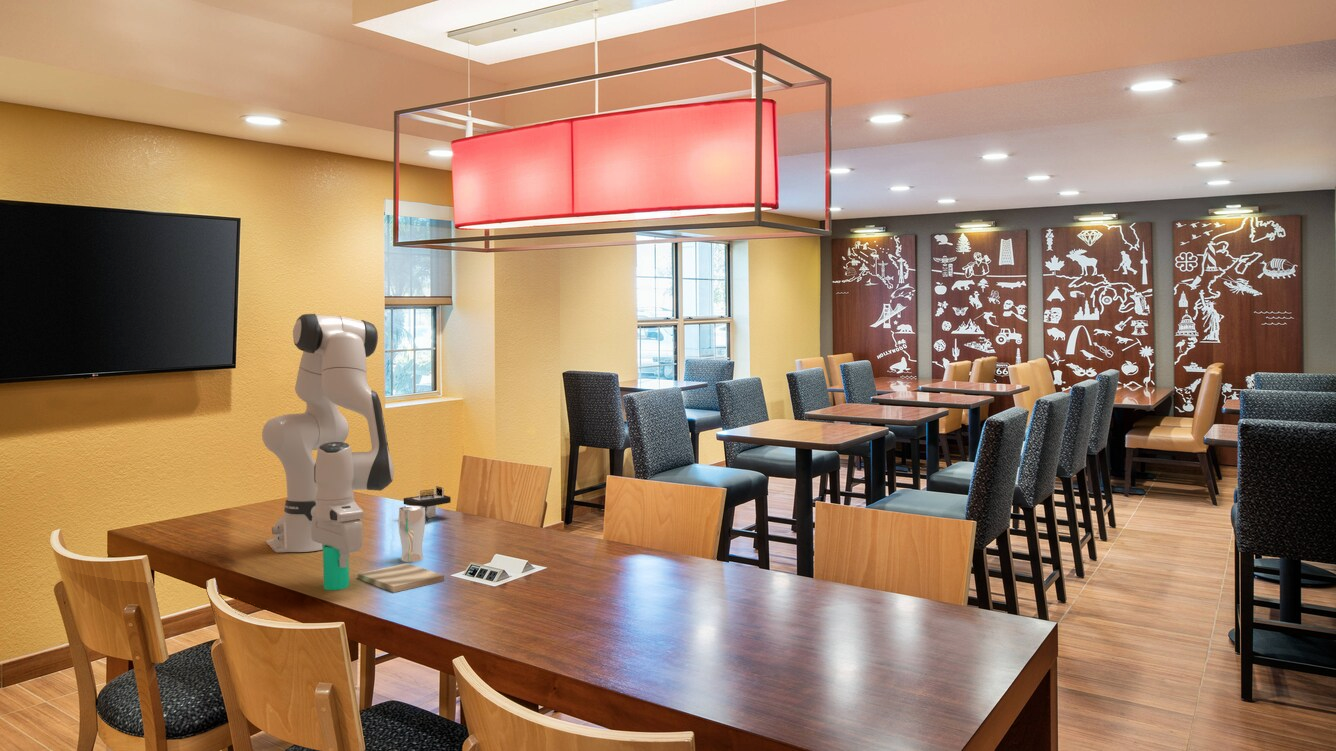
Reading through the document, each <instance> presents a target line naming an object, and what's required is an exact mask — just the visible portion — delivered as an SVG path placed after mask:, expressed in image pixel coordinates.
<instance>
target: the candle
mask: <svg viewBox="0 0 1336 751" xmlns="http://www.w3.org/2000/svg"><path fill="white" fill-rule="evenodd" d="M349 557H350V556H349ZM349 557H348V560H347V567H343V568H341V567H339V566H338V560H339V558H340V554H339V550H338V549H335V548H332V547H329V546H326V545H323V550H322V559H323V560H322V563H323V565H322V568H323V589H324V590H327V591H337V590H344V589H346V588H348V587H349V586H350V573H349V572H350V566H349V565H350V563H349V562H350V560H349Z"/></svg>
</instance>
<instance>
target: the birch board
mask: <svg viewBox="0 0 1336 751" xmlns="http://www.w3.org/2000/svg"><path fill="white" fill-rule="evenodd" d="M357 579H358V580H361V581H364V582H365V583H368V584H371V585H373V586H375V587H378V588H380V589H383V590H386V591H388V592H390V593H393V594H394V593H397V592H402V591H406V590H411V589H415V588H419V587H420V588H421V587H425V586H429V585H433V584H437V583H441V582H445V575H444V574H442V573H438V572H435V571H432V570H429V569H426V568H423V567H420V566H418V565H413V564H410V563H408V562H405V563H402V564H396V565H391V566H387V567H383V568H378V569H374V570H368V571H363V572H357Z"/></svg>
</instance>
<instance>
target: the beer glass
mask: <svg viewBox="0 0 1336 751" xmlns="http://www.w3.org/2000/svg"><path fill="white" fill-rule="evenodd" d="M397 524H398V533H399V538H400V545H401V558H400V561H402V562H405V563H408V562H409V563H410V562H419V561H421V560H423V559H424V555H423V541H424V535H425V525H426V521H425V516H424V507H423V506H409V505H406V506H401V507H399V508H398V523H397Z"/></svg>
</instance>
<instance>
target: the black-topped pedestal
mask: <svg viewBox="0 0 1336 751" xmlns="http://www.w3.org/2000/svg"><path fill="white" fill-rule="evenodd" d="M444 488H445V487H441V486H437V485H435V488H432V489H429V490H428V489H424V490H418V496H410V497H409V496H408V497H403V505H406V506H423V507H424V516H425V523H426V522H427V523H429V520H430V518H433V517H434V518H436V517H437V516H436V515H437V512H436V511H437V507H436V506H441V505H445V504H450V503H451V501H452V499H451V498H452V497H451V496H449V495H445V492H444Z"/></svg>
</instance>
